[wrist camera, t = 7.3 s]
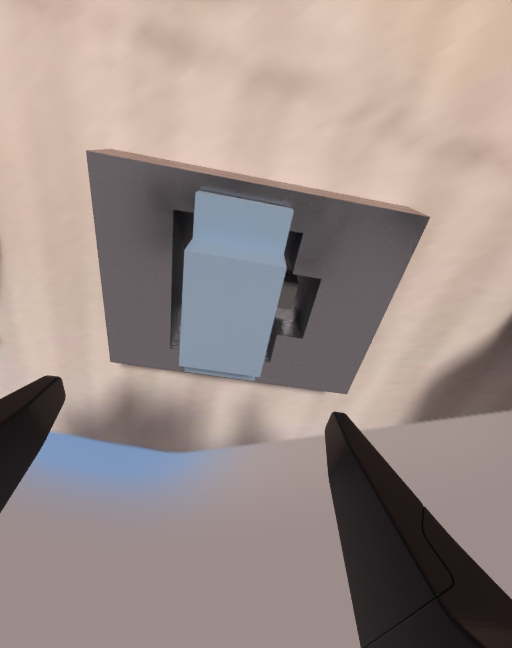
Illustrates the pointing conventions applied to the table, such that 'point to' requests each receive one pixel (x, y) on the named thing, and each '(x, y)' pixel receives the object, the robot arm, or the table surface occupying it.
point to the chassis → (300, 256)
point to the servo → (233, 285)
